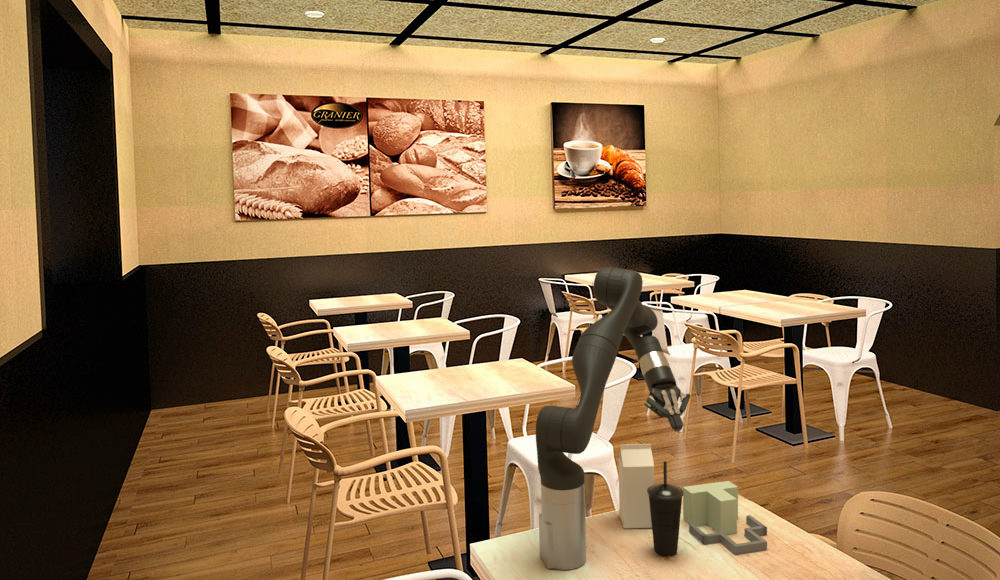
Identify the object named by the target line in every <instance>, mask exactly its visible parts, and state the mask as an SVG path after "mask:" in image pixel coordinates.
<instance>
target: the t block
mask: <svg viewBox="0 0 1000 580" xmlns="http://www.w3.org/2000/svg"><path fill="white" fill-rule="evenodd" d="M682 490H683V491H684V495H683V497H682V518H683V519H684V520H685V521H684V520H683V521H684V522H685V523H687V524H688V525H689V524H694V525H695V526H697V527H698V525H699V526H704V525H708V526H709V527H710V528H711V529H713V530H714V531H715V533H718V532H723V533H724V534H725V535H727V536H728V535H731V534H737V533H738V524H737V523H738V520H739V515H738V514H739V487H738V485H736V484H734V483H733V482H731V481H730V480H725V481H716V482H711V483H703V484H696V485H695V484H694V485H688V486H683V487H682Z"/></svg>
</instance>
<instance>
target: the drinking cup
mask: <svg viewBox="0 0 1000 580" xmlns="http://www.w3.org/2000/svg"><path fill="white" fill-rule="evenodd" d="M667 466H668V465H667V461H663V482H660V483H657V484H654V485H652V486H650V487H649V488H648V489H647V493H648V495H649V504H650V513H651V523H652V528H651V530H652V542H653V550H654V553H655V554H656V555H657V556H661V557H664V558H665V557H666V558H668V557H669V558H670V557H673V556H676V555H677V554H678V548H679V547H678V545H679V535H680V527H681V526H680V525H681V516H682V515H681V514H682V506H683V495H684V491H683V488H681V487H680V486H678V485H675V484H671V483H668V478H667V477H668V469H667V468H668V467H667Z"/></svg>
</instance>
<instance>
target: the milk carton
mask: <svg viewBox="0 0 1000 580" xmlns="http://www.w3.org/2000/svg"><path fill="white" fill-rule="evenodd" d="M619 447H620V448H619V449H620V450H619V453H618V490H619V491H618V494H619V495H618V498H619V499H618V502H619V503H618V505H619V518H620V520H621V523H622V526H623V529H652V523H651V513H650V504H649V495H648V493H647V489H648V488H649V487H650V486H652V485H655V462H654V457H653V453H652V444H651V443H637V444H636V443H634V444H630V443H629V444H628V443H627V444H620V446H619Z"/></svg>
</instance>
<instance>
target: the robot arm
mask: <svg viewBox="0 0 1000 580" xmlns="http://www.w3.org/2000/svg"><path fill="white" fill-rule="evenodd" d="M642 289H643V278H642V274H641V273H640V272H638V271H636V270H633V269H627V268H619V267H618V268H617V267H610V266H609V267H602V268H600V269H598V271H597V272H596V274H595V277H594V281H593V290H592V291H593V295H594V298H595V300H596V301H597V302H598V303H600V304H602V305H603V306H605V307H606V308H607V309H609V310H610V311H609V312H608V313H607V314H606V315H603V316H602V317H601V318H599V319H598V320H596V321H594V322H593V323H592V324H590V325H589V326H588V327H587V328H586V329H585V330H583V332H582V333H581V335H580V336H579V339H578V341H577V344H576V346H575V348H574V351H573V354H572V358H571V364H572V368H573V369H572V370H573V371H574V375H575V378H576V381H577V384H578V387H579V391H580V397H579V401H578V403H577V406H576V407H566V406H557V405H545V406H543V407H542V408H541V409H540V410H539V412H538V414H537V417H536V421H535V444H536V446H535V447H536V454H537V455H536V456H537V457H536V458H537V470H538V473H539V476H540V500H541V501H540V502H541V503H540V505H541V508H540V509H541V513H538V529H539V530H538V534H539V557H540V558H541V560H542V561H543V563H544V565H545V567H546V569H549V570H550V569H551V570H552V569H556V570H563V571H564V570H566V571H567V570H574V569H578V568H580V567H582V566H583V565H584V564H585V563H586V562H587V540H586V538H587V537H586V536H587V535H586V534H587V533H586V492H585V491H586V489H585V482H586V481H585V471H584V468H583V467H582V466H581V465H580V464H578V463H577V462H576V461H573V460H572V459H571V458H569V457H568V456H567V455H566V454H572V455H578V454H579V455H580V454H582V453H583V452H585V451H586V449H587V448H588V445H589V443H590V440H591V438H592V435H593V431H594V428H595V423H596V420H597V415H598V411H599V408H600V404H601V399H602V397H603V393H604V391H605V388H606V385H607V382H608V379H609V377H610V374H611V372H612V369H613V367H614V365H615V362H616V359H617V356H618V353H619V349H620V346H621V342H622V340H623V337H625V338H626V339H627V340H628V342H629V343H630V344H631V346H632V348H633V350H634V351H635V354H636V357H637V359H638V362H639V366H640V370H641V374H642V376H643V379H644V381H645V384H646V387H647V390H648V391H649V395H648V397H647V398H646V399H645V401H644V406H645V407H646V408H648V409H649V410H650V411H652V412H653V413H654V414H655V415H657V416H658V417H659V418H666V419H667V420H668V423H669V424H670V428H671V429H672V430H673V431H674V432H680V431H682V429H683V427H684V422H683V420H682V417H681V416H683V414H684V413H685V412H686V409H687V407H688V404H689V401H690V399H691V394H690V393H684V392H681V391H682V390H681V389H680V388H679V386H678V385H677V380H676V378H675V376H674V373H673V371H672V368H671V366H670V363H669V360H668V358H667V357H666V355H665V353H664V351H663V347H662V346H661V343H660V341H659V338H657V337H656V336H655V335H645V334H648V333H650V332H652V331H655V329H657V326H658V323H659V322H658V318H657V317H658V316H657V315H656V313H655V311H654V310H653V309H652V308H651V307H649V306H647V305H644V304H643V303H642V302H641V300H640V297H641V294H642ZM679 401H680V403H681V404H680V406H679ZM565 453H566V454H565Z"/></svg>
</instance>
